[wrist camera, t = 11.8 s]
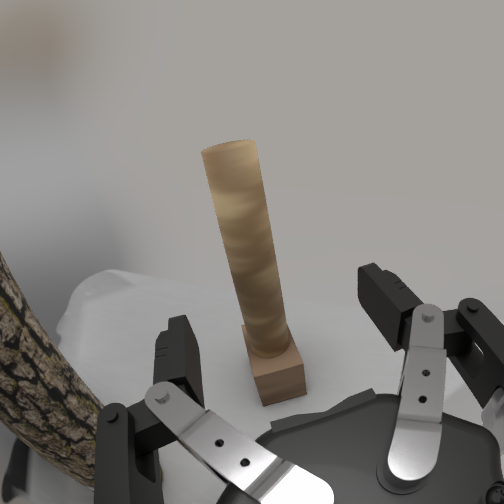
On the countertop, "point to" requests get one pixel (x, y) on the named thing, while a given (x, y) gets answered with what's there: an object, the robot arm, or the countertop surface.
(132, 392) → the countertop surface
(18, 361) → the brown bark cylinder
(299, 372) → the wooden block
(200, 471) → the countertop surface
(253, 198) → the dowel
